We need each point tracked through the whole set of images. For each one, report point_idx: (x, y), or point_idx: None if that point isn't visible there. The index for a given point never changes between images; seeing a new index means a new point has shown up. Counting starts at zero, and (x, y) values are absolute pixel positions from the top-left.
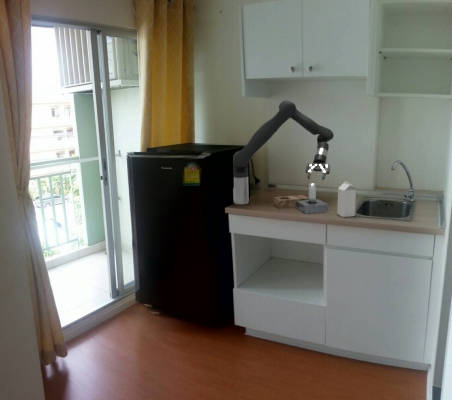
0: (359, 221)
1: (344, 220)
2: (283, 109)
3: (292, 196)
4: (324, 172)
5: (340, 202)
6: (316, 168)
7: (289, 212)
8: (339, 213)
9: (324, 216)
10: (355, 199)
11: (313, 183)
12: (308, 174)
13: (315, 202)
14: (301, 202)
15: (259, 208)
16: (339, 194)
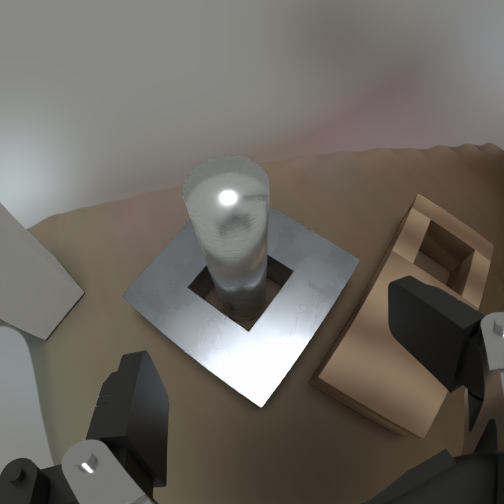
0: None
1: (47, 221)
2: None
3: None
4: (88, 443)
5: (31, 239)
6: (417, 501)
7: (313, 190)
8: (67, 274)
9: (128, 223)
10: None
11: (210, 186)
12: (442, 295)
13: (216, 290)
14: (302, 241)
15: (453, 183)
16: (10, 223)
